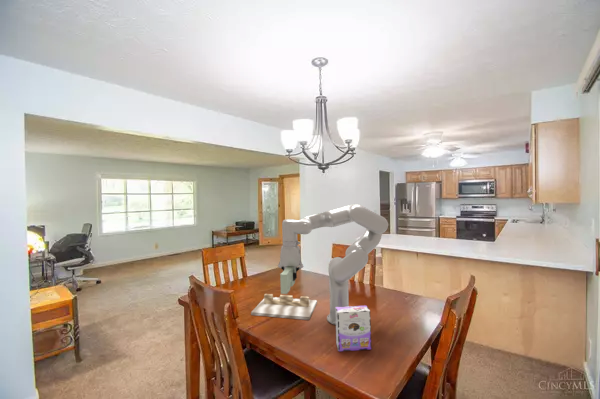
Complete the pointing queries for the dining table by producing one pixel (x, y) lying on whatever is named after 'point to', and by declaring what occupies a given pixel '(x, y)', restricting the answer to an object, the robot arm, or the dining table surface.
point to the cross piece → (286, 280)
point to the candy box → (353, 328)
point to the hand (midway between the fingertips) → (290, 279)
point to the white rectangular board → (285, 307)
